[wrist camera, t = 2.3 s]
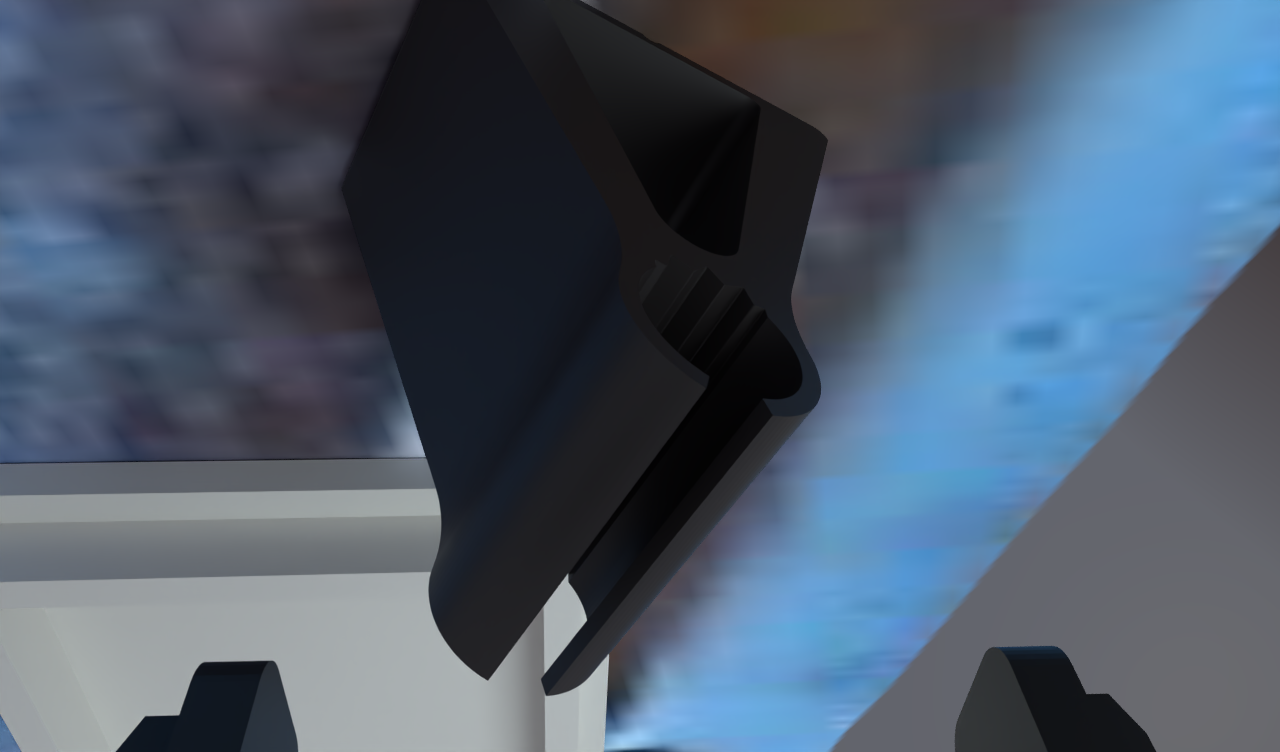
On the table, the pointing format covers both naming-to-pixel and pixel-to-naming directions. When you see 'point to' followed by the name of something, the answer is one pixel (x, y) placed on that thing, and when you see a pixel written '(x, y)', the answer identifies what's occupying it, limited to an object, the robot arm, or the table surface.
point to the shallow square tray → (258, 608)
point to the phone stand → (580, 306)
